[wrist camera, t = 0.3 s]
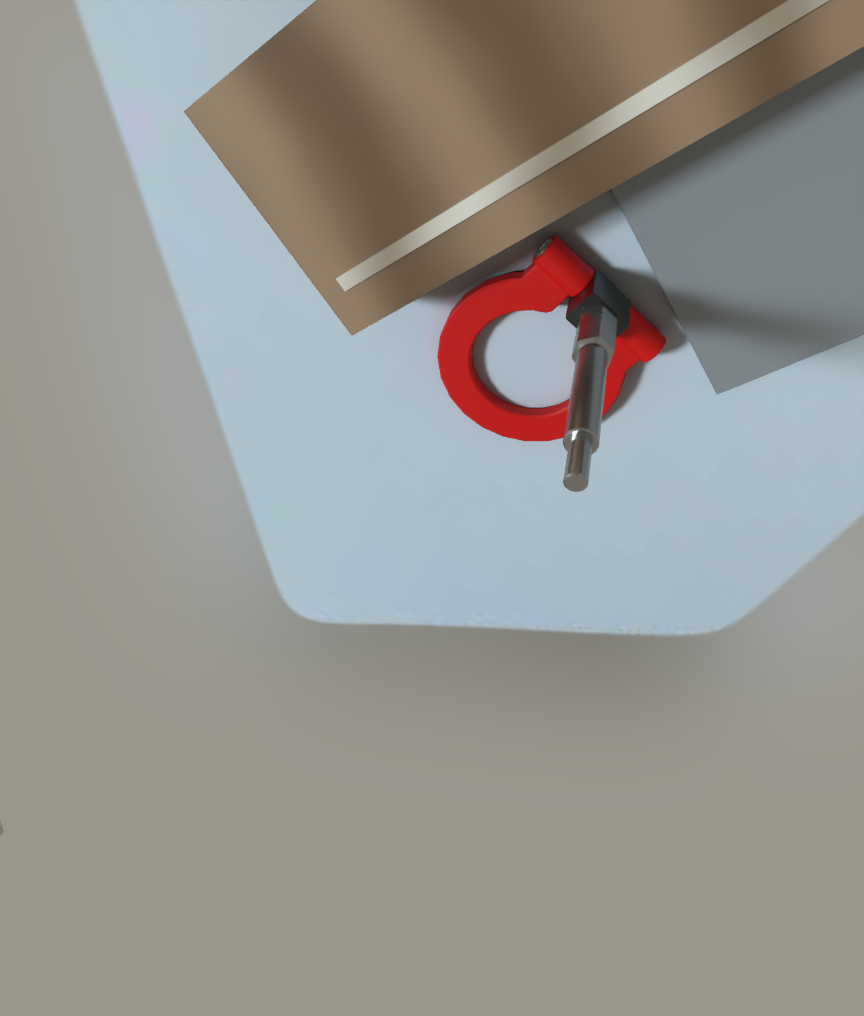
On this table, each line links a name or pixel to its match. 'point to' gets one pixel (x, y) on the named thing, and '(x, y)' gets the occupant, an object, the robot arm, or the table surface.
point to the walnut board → (484, 120)
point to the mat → (763, 228)
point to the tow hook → (597, 353)
